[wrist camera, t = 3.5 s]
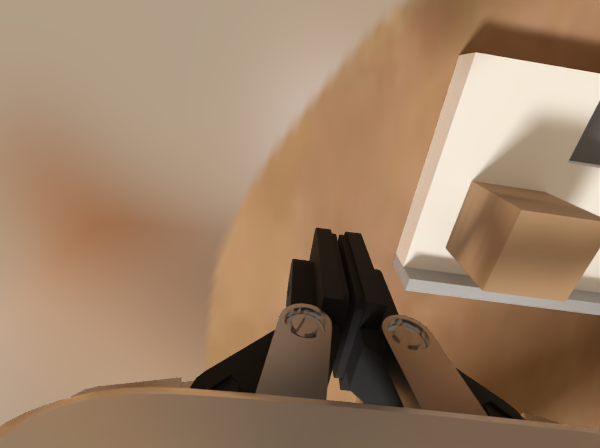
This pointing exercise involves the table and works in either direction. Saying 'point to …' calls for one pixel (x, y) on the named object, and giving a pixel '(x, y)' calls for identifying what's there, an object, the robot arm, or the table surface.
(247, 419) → the robot arm
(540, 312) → the table surface
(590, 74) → the trap board
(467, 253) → the walnut block
